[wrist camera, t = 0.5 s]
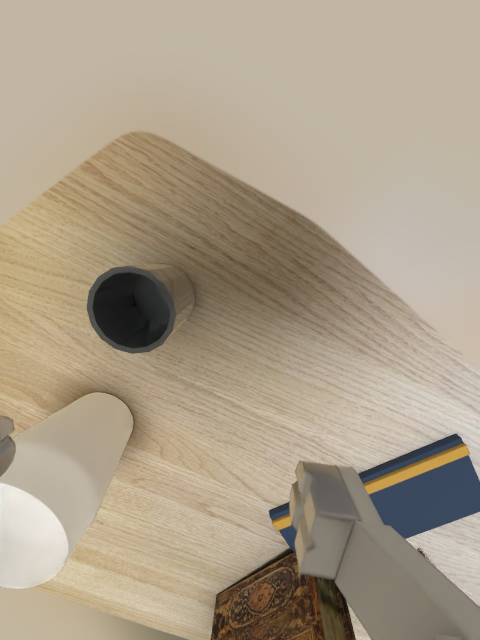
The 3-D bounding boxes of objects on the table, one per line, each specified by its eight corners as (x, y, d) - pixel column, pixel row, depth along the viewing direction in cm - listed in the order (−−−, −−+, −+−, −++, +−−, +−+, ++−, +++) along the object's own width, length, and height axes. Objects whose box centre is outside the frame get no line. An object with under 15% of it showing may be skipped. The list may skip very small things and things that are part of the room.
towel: (456, 433, 27) (464, 440, 26) (485, 501, 29) (494, 511, 28) (268, 510, 30) (269, 520, 29) (306, 567, 32) (308, 578, 31)
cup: (84, 364, 26) (-46, 451, 15) (160, 410, 27) (95, 526, 16) (48, 427, 28) (-94, 549, 16) (120, 468, 29) (35, 610, 17)
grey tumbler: (173, 251, 23) (142, 249, 16) (207, 308, 24) (191, 328, 18) (119, 283, 24) (69, 294, 17) (154, 337, 25) (120, 367, 18)
